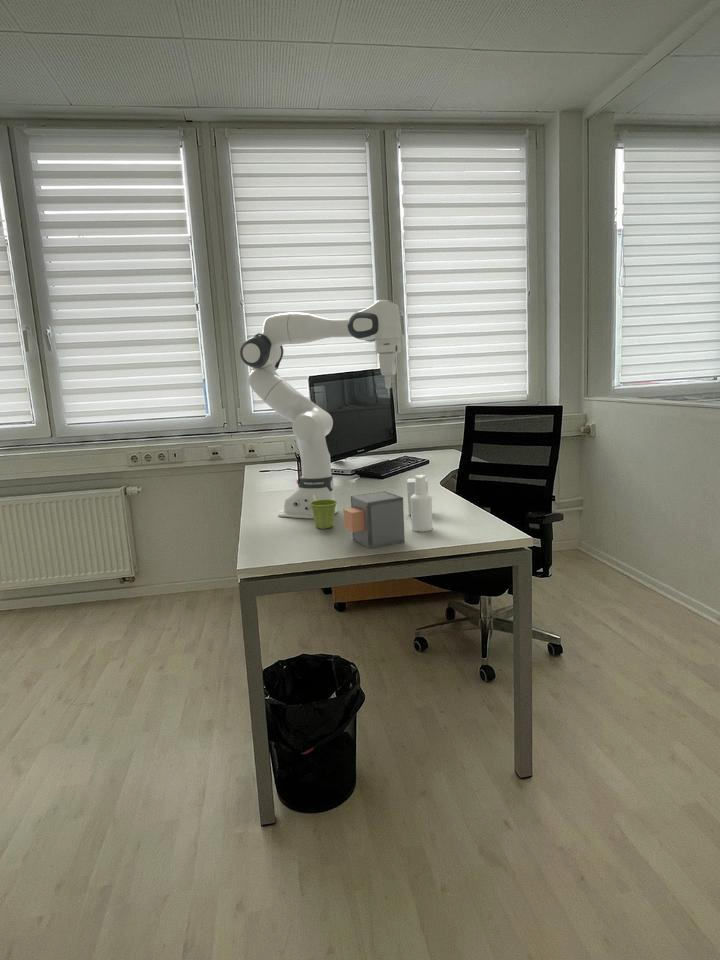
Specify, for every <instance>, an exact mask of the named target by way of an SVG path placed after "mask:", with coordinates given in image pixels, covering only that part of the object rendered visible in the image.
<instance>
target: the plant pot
mask: <svg viewBox="0 0 720 960" xmlns="http://www.w3.org/2000/svg"><path fill="white" fill-rule="evenodd" d="M337 503H338V500H335V499H334V500H316V501H312V502H310V505H311V507H312V509H313V514H314V518H313V520H314V523H315V528H318V529H320V530H326V529H328V528H333V527H334V524H335V523H334V522H335V514H336V513H335V507H337ZM334 513H335V514H334Z"/></svg>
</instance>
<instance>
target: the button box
mask: <svg viewBox="0 0 720 960" xmlns="http://www.w3.org/2000/svg"><path fill="white" fill-rule="evenodd" d="M354 507H358V508H360V509H362V510H364V520H365V530H363V531H357V532H352V540H353V541H356V542H357V543H359V544H361V545H362V546H364V547H365V548H368V549H373V548H375V549H376V548H381V547H385V546H390V545H396V543H397V544H400V543H405V540H406V539H405V538H406V537H405V515H404V497H403V496H399V495H397V494H394V493H391V492H388V491H378V492H372V493H370V492H369V493H364V494H356V495H352V496H350V508H354Z"/></svg>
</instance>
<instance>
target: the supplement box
mask: <svg viewBox="0 0 720 960" xmlns="http://www.w3.org/2000/svg"><path fill="white" fill-rule="evenodd" d="M427 479H428V478H427V477H426V482H427V483H428V480H427ZM406 488H407V489H406V490H407V509H408V516H410V515H411V496H412V495H414V494H415V477H413V478H407V479H406ZM428 488H429V487H428V484H427V494H429V489H428Z"/></svg>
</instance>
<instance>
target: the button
mask: <svg viewBox="0 0 720 960" xmlns="http://www.w3.org/2000/svg"><path fill="white" fill-rule="evenodd" d="M343 524H344V525H343V527H344V529H346V530H347V531H349V532H351V533H353V532H357V531H363V530H365V520H364V510H362V509H360V508H358V507H354V508H351V507H348V508H344V509H343Z"/></svg>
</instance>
